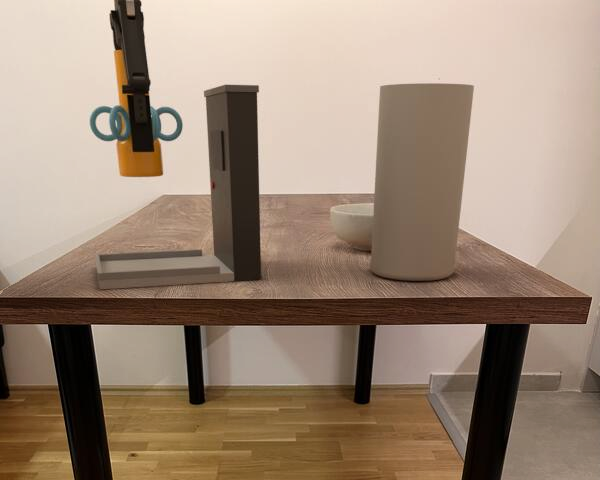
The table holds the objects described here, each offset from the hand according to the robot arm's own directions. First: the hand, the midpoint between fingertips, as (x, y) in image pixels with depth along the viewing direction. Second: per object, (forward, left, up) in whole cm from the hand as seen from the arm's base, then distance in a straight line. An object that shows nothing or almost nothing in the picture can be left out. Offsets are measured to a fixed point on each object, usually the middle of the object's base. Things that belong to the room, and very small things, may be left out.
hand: (139, 150), depth 87 cm
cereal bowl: (+42, +13, -17) cm, 47 cm away
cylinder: (0, 0, -3) cm, 3 cm away
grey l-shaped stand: (+4, 0, -17) cm, 17 cm away
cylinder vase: (+38, -10, -17) cm, 43 cm away
